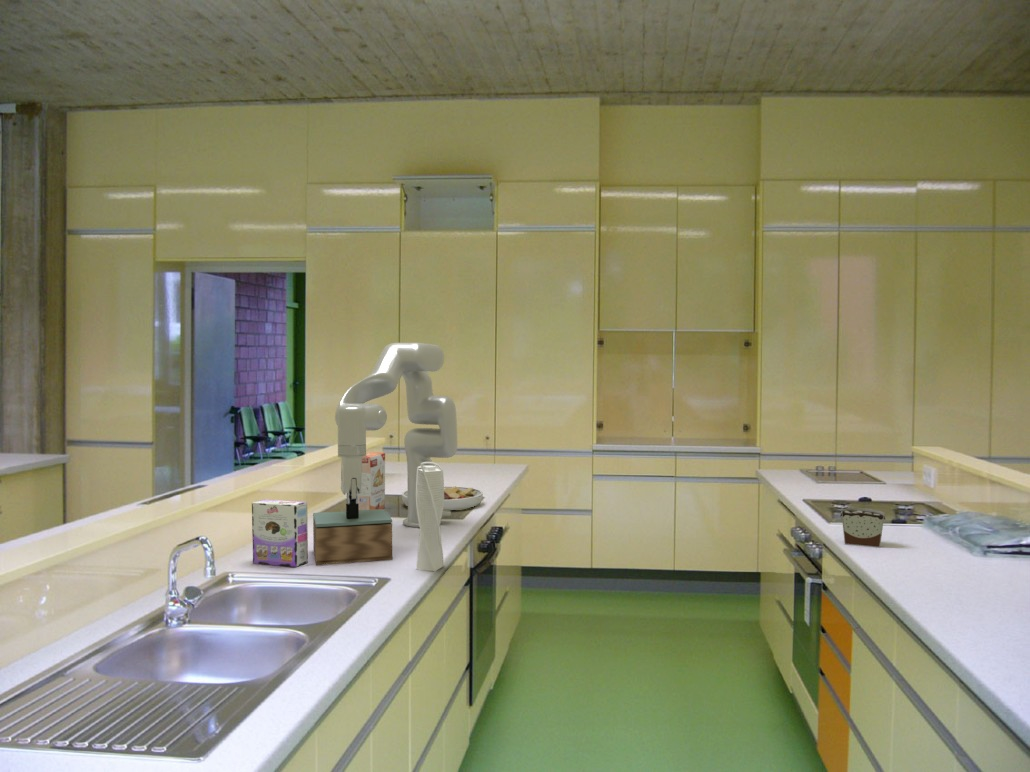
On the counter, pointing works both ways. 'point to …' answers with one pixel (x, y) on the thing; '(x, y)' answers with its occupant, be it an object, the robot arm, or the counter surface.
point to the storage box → (352, 543)
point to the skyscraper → (429, 516)
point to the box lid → (340, 519)
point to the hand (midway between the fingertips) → (352, 518)
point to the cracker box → (372, 482)
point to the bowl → (456, 497)
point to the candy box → (280, 532)
